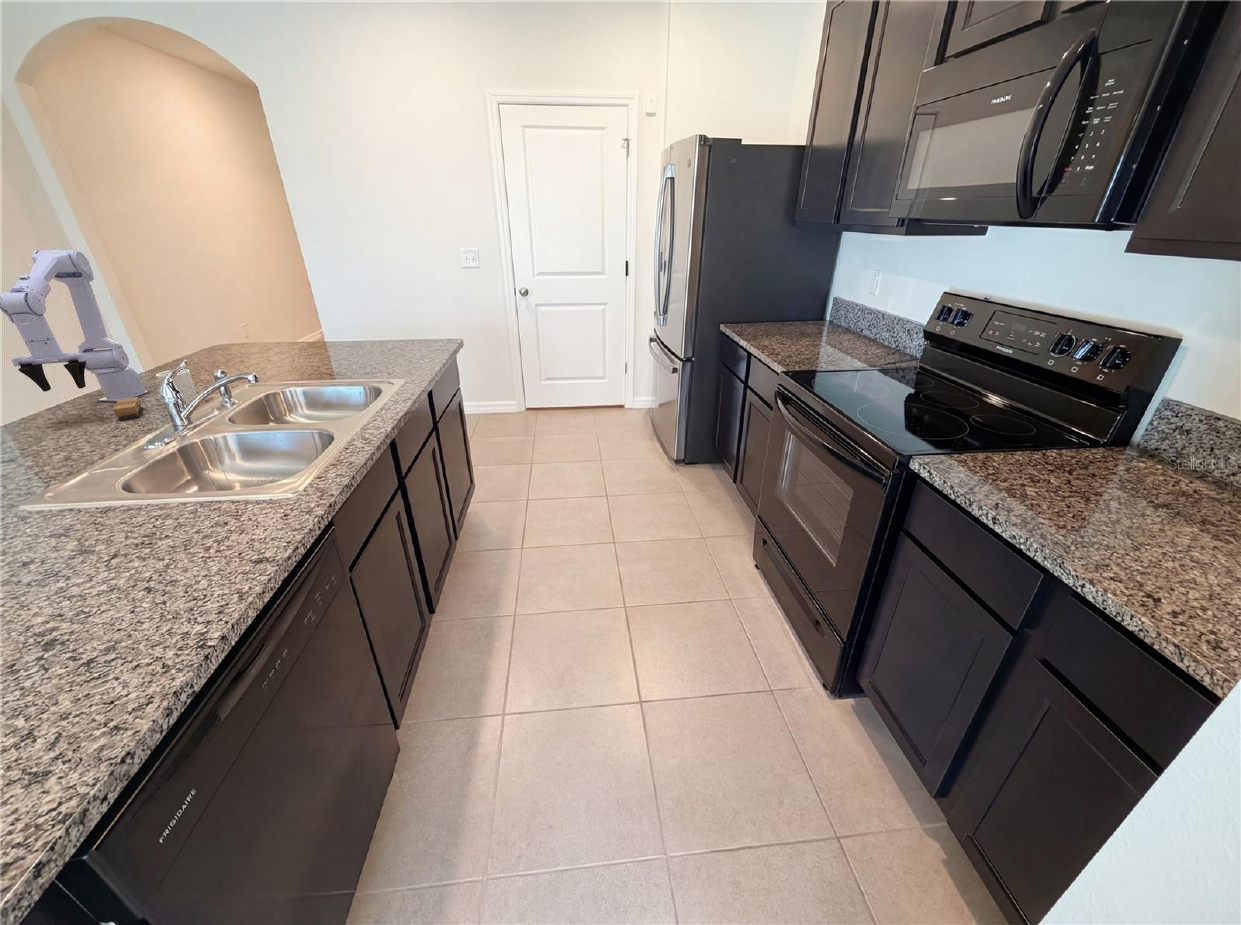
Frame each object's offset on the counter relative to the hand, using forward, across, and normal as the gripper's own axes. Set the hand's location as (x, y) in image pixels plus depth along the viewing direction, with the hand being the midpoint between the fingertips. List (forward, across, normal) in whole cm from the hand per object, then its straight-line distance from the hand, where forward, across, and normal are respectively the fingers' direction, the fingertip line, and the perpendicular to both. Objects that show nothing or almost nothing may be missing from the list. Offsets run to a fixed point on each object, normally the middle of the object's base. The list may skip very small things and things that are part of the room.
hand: (65, 389), depth 139 cm
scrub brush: (+10, +10, +2) cm, 14 cm away
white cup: (+10, +22, +8) cm, 25 cm away
